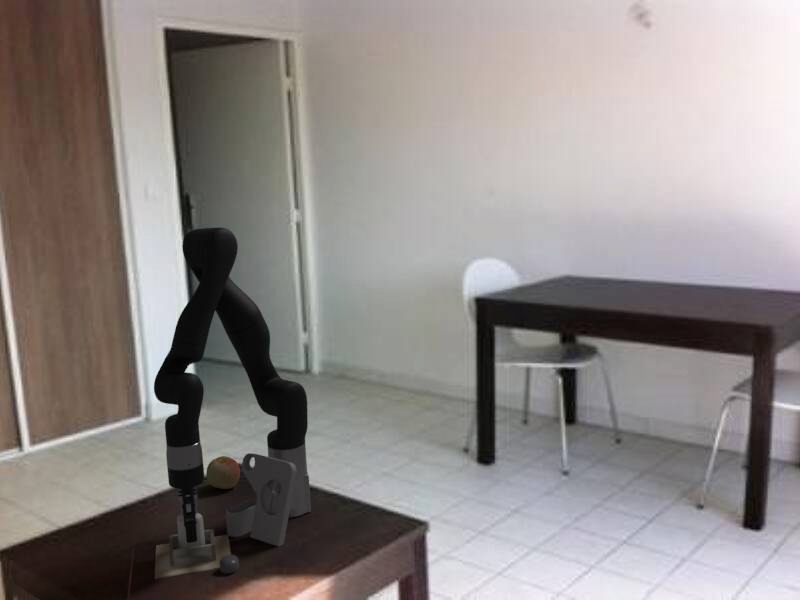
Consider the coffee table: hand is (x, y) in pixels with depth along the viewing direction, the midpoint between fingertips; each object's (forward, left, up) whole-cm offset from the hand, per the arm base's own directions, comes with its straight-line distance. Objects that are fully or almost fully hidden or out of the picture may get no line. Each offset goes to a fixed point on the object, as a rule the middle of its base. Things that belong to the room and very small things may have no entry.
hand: (191, 536), depth 182 cm
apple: (-9, -41, -5) cm, 42 cm away
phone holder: (-16, -6, -6) cm, 18 cm away
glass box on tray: (0, 0, -5) cm, 5 cm away
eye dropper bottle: (0, 0, -3) cm, 3 cm away
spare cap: (-7, +9, -5) cm, 12 cm away
